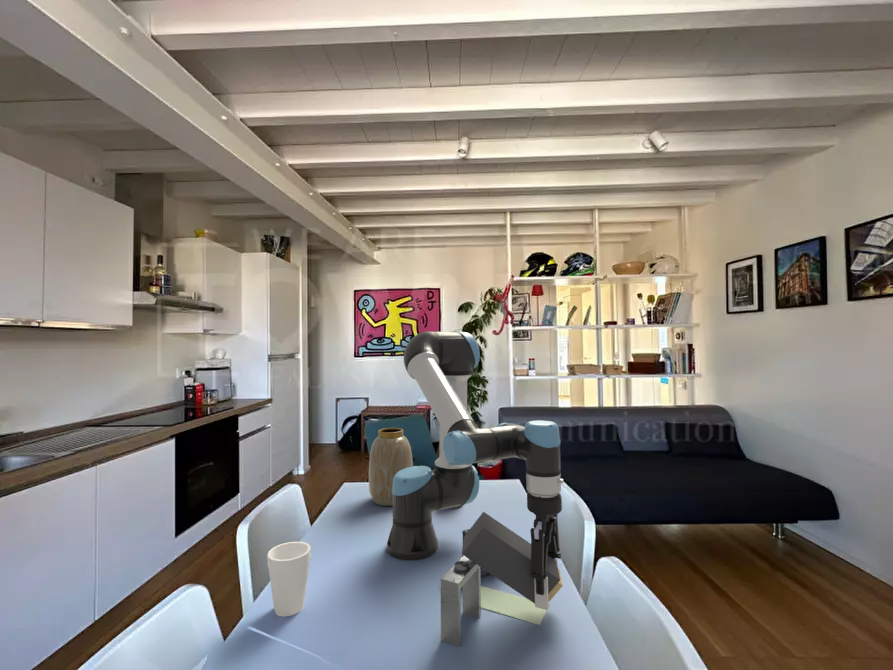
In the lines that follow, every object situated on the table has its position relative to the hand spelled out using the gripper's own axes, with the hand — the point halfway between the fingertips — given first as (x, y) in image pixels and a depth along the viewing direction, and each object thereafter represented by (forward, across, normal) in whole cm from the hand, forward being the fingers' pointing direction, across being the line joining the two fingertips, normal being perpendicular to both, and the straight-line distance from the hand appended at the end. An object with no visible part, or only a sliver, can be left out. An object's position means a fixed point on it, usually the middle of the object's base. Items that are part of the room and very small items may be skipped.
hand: (547, 597), depth 95 cm
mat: (+4, 0, +10) cm, 11 cm away
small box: (+4, +12, +20) cm, 24 cm away
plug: (-5, -4, +10) cm, 12 cm away
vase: (+3, +45, +73) cm, 86 cm away
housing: (+4, -12, +15) cm, 20 cm away
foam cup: (+4, -23, +54) cm, 59 cm away
